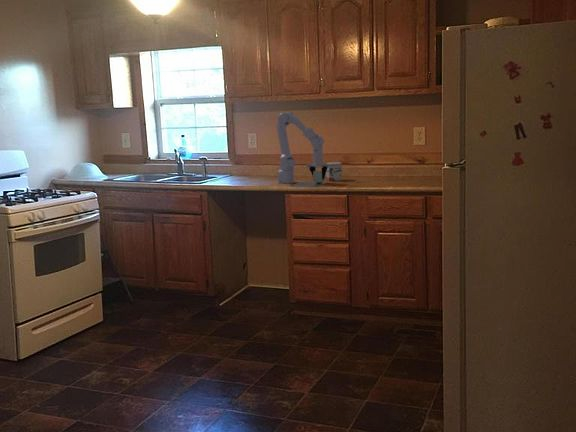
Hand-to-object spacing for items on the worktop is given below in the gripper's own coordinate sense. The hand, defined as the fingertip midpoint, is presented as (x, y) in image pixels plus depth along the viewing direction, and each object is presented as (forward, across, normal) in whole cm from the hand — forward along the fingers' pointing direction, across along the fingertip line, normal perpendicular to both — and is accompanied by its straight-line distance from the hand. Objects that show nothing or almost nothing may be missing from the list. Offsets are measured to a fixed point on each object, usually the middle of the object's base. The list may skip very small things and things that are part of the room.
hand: (318, 179), depth 397 cm
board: (+3, -5, -5) cm, 8 cm away
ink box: (+3, +6, +13) cm, 15 cm away
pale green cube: (+2, 0, 0) cm, 2 cm away
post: (+2, 0, 0) cm, 2 cm away
